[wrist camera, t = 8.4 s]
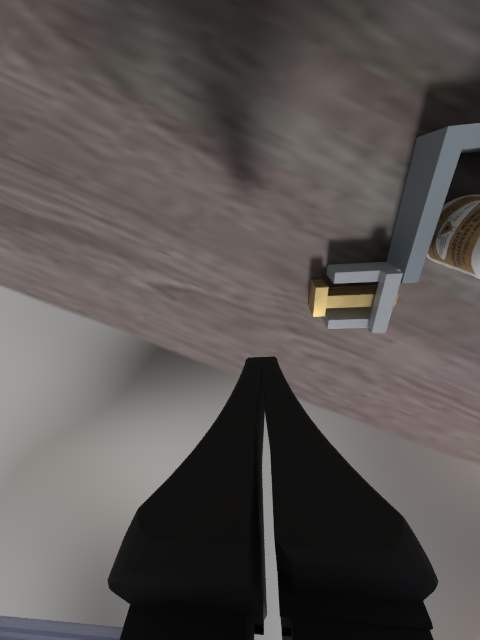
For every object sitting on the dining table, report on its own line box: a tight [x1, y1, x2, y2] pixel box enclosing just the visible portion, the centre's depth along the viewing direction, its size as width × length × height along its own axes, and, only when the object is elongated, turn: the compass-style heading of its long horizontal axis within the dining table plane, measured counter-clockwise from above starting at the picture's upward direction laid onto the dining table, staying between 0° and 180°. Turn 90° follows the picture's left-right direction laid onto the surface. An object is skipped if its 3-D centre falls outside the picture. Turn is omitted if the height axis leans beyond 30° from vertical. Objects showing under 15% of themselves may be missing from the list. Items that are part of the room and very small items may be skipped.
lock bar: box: [308, 279, 399, 317], centre depth 17 cm, size 6×2×2 cm, turn 94°
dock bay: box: [321, 123, 480, 333], centre depth 15 cm, size 12×12×3 cm
